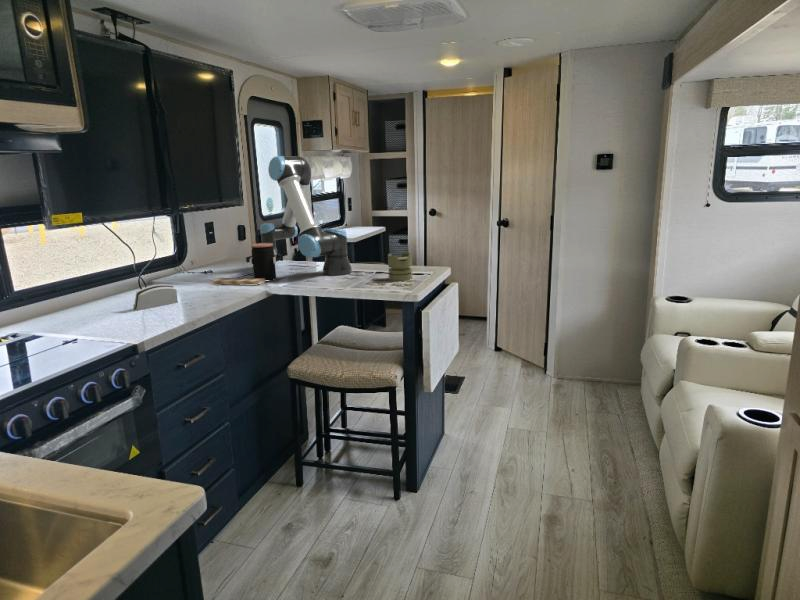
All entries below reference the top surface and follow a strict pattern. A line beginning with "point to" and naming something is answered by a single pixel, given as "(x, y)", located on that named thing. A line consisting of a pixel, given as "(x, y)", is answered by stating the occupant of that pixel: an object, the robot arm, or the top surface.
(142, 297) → the beige arched block
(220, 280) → the oak board
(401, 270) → the piston
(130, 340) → the top surface
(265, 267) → the coffee jar
